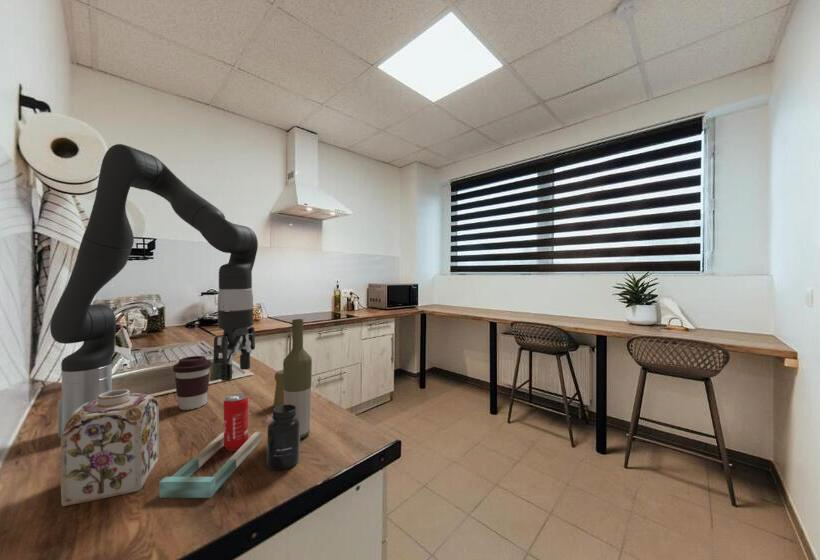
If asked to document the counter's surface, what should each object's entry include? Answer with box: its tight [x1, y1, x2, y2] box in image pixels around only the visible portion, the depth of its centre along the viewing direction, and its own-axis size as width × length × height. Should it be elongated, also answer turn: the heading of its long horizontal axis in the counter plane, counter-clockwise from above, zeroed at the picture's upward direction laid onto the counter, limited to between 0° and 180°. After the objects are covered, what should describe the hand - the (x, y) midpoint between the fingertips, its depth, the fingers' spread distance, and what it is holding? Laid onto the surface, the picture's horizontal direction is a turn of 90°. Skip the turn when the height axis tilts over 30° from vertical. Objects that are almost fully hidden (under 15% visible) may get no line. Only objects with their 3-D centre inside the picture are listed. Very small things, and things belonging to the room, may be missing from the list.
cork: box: [272, 369, 284, 408], centre depth 103 cm, size 6×6×11 cm
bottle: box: [282, 318, 313, 439], centre depth 83 cm, size 7×7×30 cm
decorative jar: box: [60, 389, 160, 507], centre depth 65 cm, size 12×12×18 cm
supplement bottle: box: [266, 405, 301, 471], centre depth 72 cm, size 7×7×12 cm
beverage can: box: [223, 392, 249, 452], centre depth 78 cm, size 5×5×12 cm
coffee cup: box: [172, 355, 212, 411], centre depth 101 cm, size 10×10×15 cm
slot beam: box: [158, 431, 262, 499], centre depth 71 cm, size 10×21×3 cm, turn 0°
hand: (236, 374), depth 78 cm, fingers open, 8 cm apart
